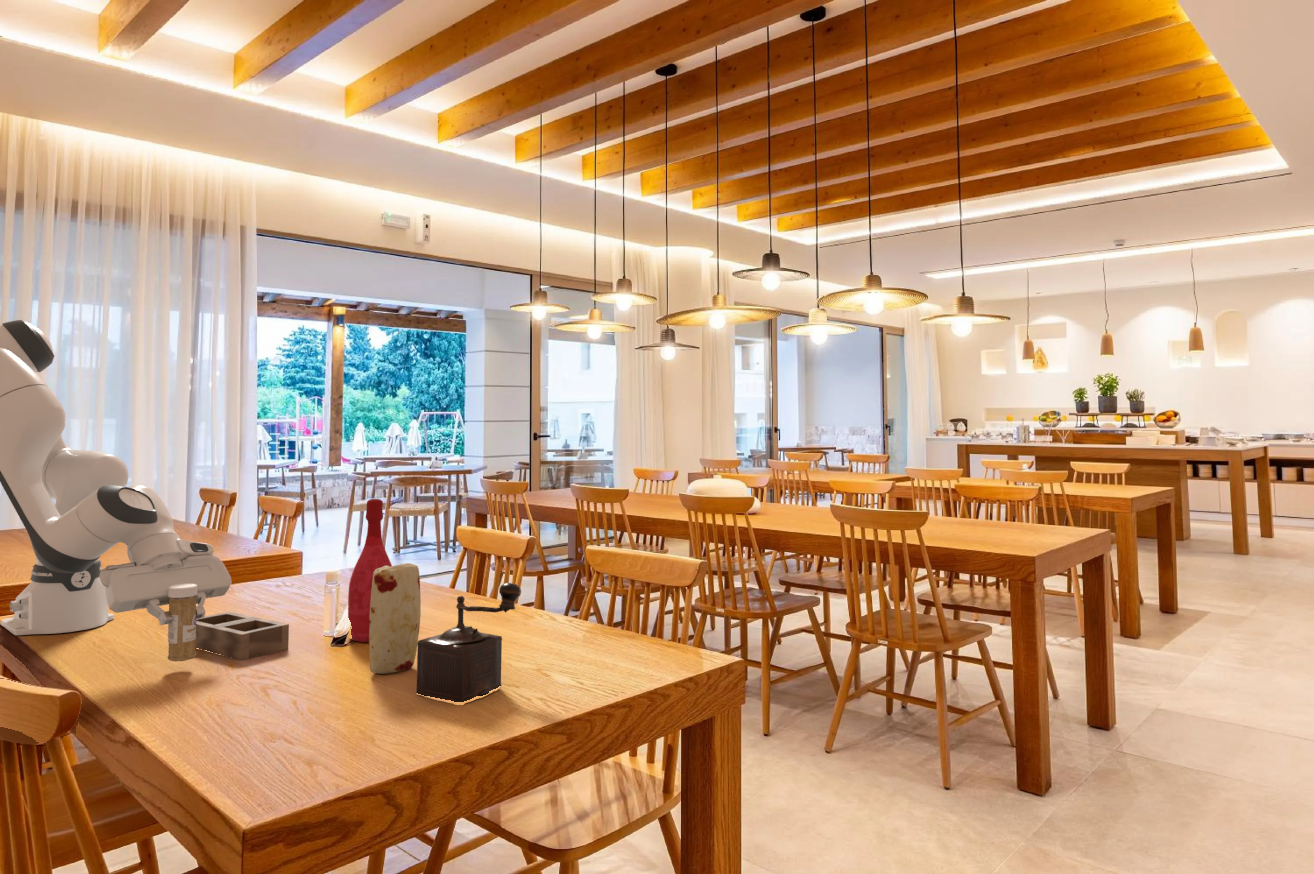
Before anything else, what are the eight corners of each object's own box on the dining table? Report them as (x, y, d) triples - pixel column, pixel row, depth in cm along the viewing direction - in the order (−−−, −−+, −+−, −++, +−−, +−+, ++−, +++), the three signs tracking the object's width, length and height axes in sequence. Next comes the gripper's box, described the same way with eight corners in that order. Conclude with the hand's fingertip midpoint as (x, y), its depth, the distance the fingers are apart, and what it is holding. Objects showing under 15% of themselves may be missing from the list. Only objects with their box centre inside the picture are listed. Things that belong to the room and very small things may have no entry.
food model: (378, 680, 138) (381, 568, 138) (359, 672, 142) (362, 564, 142) (426, 669, 145) (429, 562, 145) (407, 661, 150) (409, 558, 150)
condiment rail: (181, 645, 158) (181, 620, 158) (228, 634, 167) (229, 611, 167) (241, 660, 148) (241, 634, 148) (288, 648, 157) (288, 624, 157)
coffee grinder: (463, 707, 125) (466, 596, 125) (414, 695, 130) (416, 589, 131) (524, 682, 139) (526, 582, 139) (477, 672, 144) (479, 575, 144)
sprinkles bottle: (196, 659, 141) (198, 586, 141) (167, 663, 138) (168, 588, 138) (195, 653, 145) (196, 581, 145) (166, 657, 142) (167, 584, 142)
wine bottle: (337, 640, 164) (340, 499, 164) (370, 630, 173) (373, 496, 173) (373, 646, 160) (376, 501, 160) (405, 635, 169) (408, 498, 170)
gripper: (101, 556, 137) (125, 620, 131) (220, 543, 154) (245, 599, 148) (90, 578, 139) (113, 641, 134) (209, 563, 156) (233, 619, 151)
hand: (183, 619), depth 141 cm, fingers closed on sprinkles bottle, 4 cm apart
